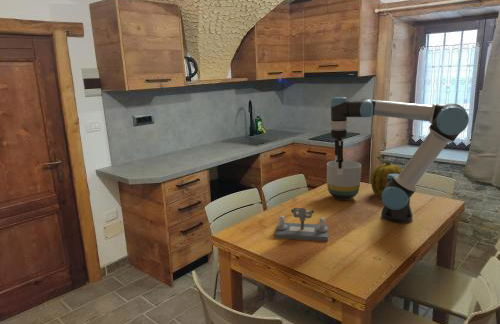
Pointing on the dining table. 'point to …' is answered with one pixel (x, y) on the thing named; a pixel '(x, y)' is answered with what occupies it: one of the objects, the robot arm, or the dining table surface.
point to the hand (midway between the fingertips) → (338, 171)
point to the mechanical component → (302, 215)
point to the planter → (344, 180)
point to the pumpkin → (382, 175)
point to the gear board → (307, 233)
